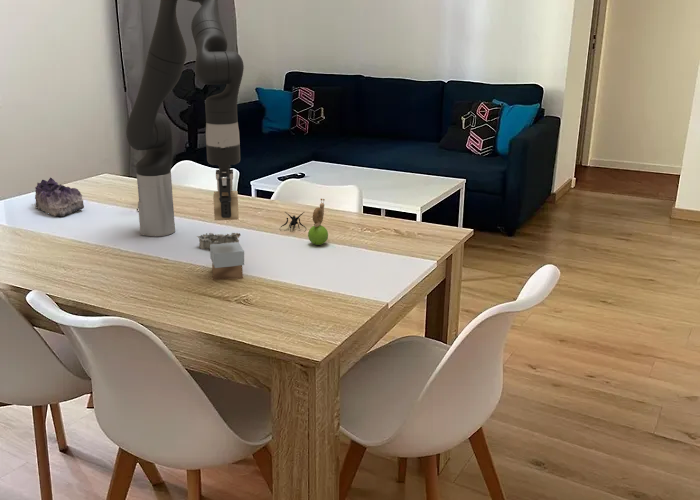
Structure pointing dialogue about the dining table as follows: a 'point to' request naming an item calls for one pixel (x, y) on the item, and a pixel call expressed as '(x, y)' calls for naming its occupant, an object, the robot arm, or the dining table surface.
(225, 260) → the tower top
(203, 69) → the robot arm
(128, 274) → the dining table surface
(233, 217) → the oak cube
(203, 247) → the grey stone ruin model
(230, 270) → the tower base
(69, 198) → the geode
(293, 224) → the creature
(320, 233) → the snail figurine
